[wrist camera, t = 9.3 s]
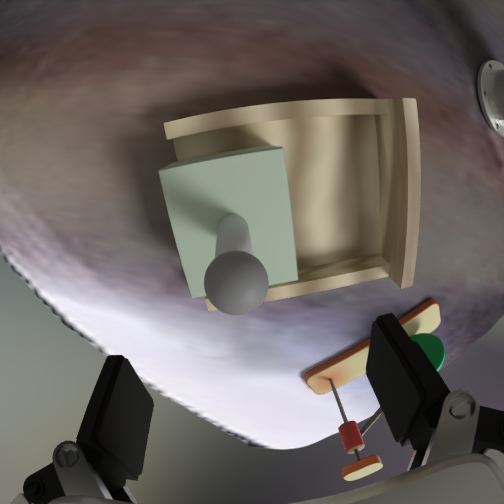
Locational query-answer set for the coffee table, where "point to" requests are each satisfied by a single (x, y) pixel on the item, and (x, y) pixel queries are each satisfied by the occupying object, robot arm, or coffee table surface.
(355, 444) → the crank mechanism
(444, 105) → the coffee table surface
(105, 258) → the coffee table surface
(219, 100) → the coffee table surface
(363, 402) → the coffee table surface
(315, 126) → the bay
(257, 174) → the green joystick
